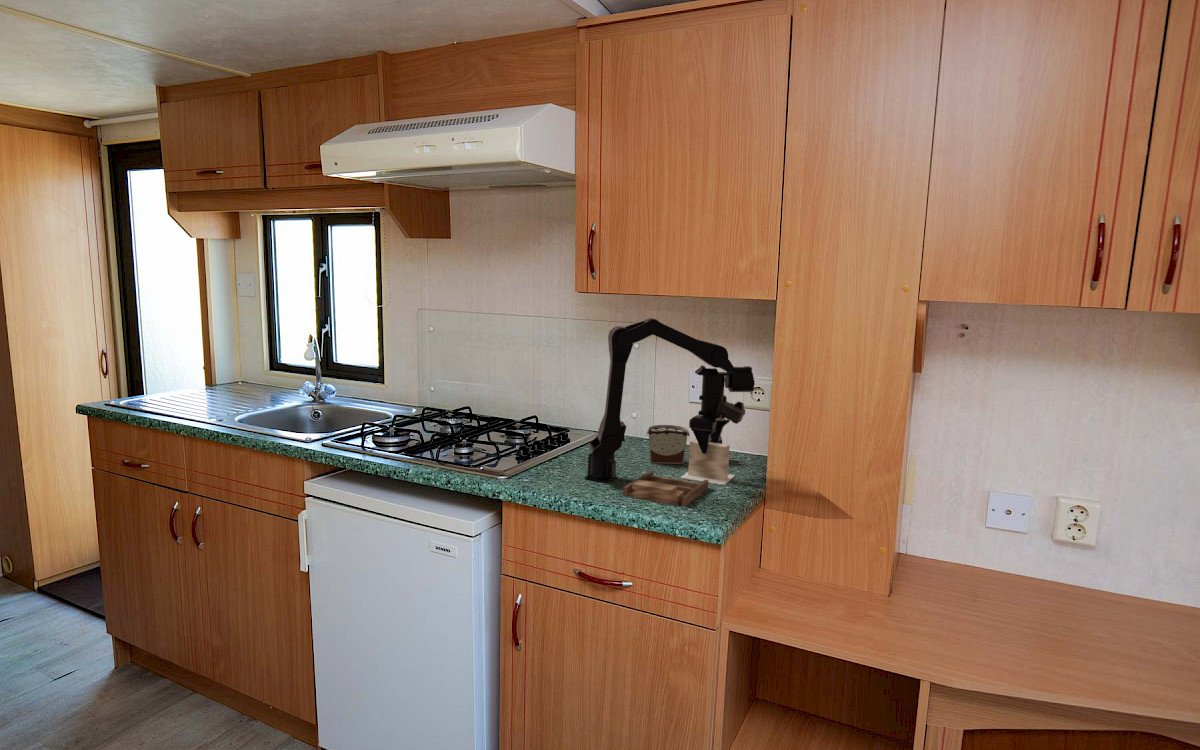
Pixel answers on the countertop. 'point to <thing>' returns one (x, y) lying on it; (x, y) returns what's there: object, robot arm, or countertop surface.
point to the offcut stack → (656, 492)
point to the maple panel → (709, 461)
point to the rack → (688, 487)
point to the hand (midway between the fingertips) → (709, 449)
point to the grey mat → (712, 481)
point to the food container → (667, 443)
